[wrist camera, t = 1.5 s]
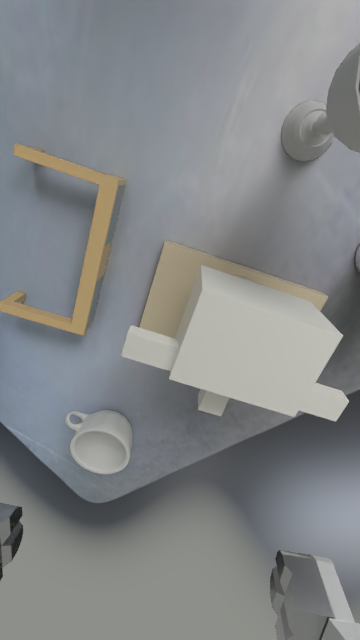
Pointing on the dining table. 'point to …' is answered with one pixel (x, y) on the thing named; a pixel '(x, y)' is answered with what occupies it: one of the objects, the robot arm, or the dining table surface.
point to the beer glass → (357, 259)
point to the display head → (237, 335)
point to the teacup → (101, 441)
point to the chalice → (327, 116)
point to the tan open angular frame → (95, 252)
